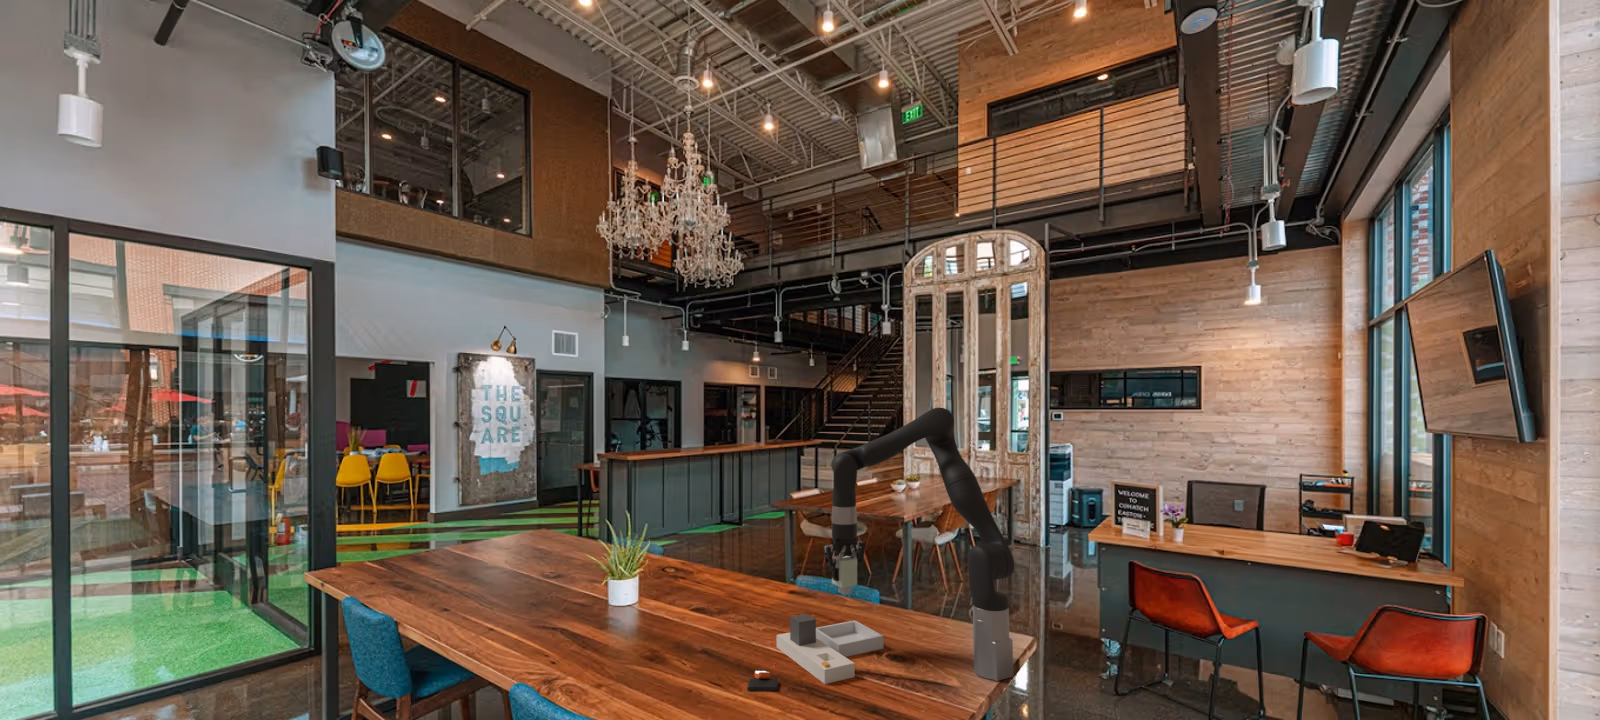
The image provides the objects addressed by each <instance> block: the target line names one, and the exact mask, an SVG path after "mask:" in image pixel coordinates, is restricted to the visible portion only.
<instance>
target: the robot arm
mask: <svg viewBox="0 0 1600 720" xmlns="http://www.w3.org/2000/svg"><path fill="white" fill-rule="evenodd" d="M954 426H955V417H954V415H953V413H952V412H951V411H950V410H949V409H947V408H945V407H934V408H932V409H930V410H927V411H926V412H924V413H923V414H922V415H920V416H918V417H917V418H915V419H914V420H912V421H910V422H907V424H905V425H903V426H900V427H899V428H898V429H895V430H893V431H892V432H888V434H886V435H885V434H884V435H882V436H880V437H878V438H876V439H873V440H871V441H868V442H866V443H863V445H860V446H857V447H853V448H851V449H848V450H845V451H843V452H840V453H837V454H836V455H835V456H834V457H833V458H832V460H831V464H830V466H831V470H832V472H833V489H832V509H831V537H832V541H831V544H828V545H823V546H822V550H823V555H824V561H825V565H826V566H828V567H831V579H832V578H833V580H835V581H839V568H838V567H839V560H842V558H843V557H845V556H848V557H851V558H853V559H854V558H856V559H857V566H858V565H859V564H861V563H863V562H864V556H865V549H866V542H864V541H862V540H858V539H857V536H858V513H857V512H858V511H857V495H856V489H857V488H856V486H857V480H858V479H857V478H858V471H859V470H861V469H862V470H863V469H864V468H869V467H870V468H871V467H874V466H876V465H879V464H882V463H883V462H885V461H888V460H890V459H892V458H894V457H896V456H897V455H898V454H899V453H900V454H901V453H902V452H903V451H904V450H906V449H907V448H908V447H909V446H911V445H913V444H914V443H916V442H919V441H920V440H922V439H925V441H926V442H927V444H928V446H929V448H930V450H931V451H932V454H933V455H934V458H935V460H936V463H937V466H938V469H939V472H940V475H941V476H940V477H941V479H942V482H943V485H944V487H945V490H946V492H947V495H948V499H949V500H950V503H951V505H952V507H953V508H954V509H955V511H956V512H957V513H958V514H959V515H960V516H961V517H962V518H963V519H964V520H966V522H967V523H968V524H970V526H971V527H973V529H974V530H975V532H976V533H977V534H978V537H979V538H980V540H981V543H982V544H977V545H974V546H972V547H971V548H970V550H969V552H968V555H967V572H968V584H969V585H968V587H969V588H968V589H969V592H970V596H971V599H972V637H973V639H972V640H973V671H974V673H975V674H976V675H977V676H979V677H981V678H984V679H987V680H988V679H989V680H994V681H996V682H998V681H1003V680H1005V679H1009V678H1012V677H1014V651H1013V649H1014V647H1013V645H1014V644H1013V639H1012V638H1011V637H1010V611H1009V605H1010V604H1009V597H1008V596H1007V595H1006V594H1005V593H1003V592H1001V591H998V590H996V588H995V583H994V581H995V580H1002V579H1003V580H1004V579H1007V578H1010V577H1011V576H1012V575H1013V574H1014V572H1015V560H1014V556H1013V553H1012V551H1011V549H1010V547H1009V545H1008V543H1007V542H1006V540H1005V538H1004V535H1003V534H1002V532H1001V530H1000V528H999V527H998V525H997V522H996V521H995V519H994V516H993V514H992V511H991V510H990V507H989V506H988V504H987V501H986V498H985V496H984V493H983V491H982V488H981V486H980V484H979V482H978V480H977V477H976V474H975V473H974V472H973V470H972V469H971V467H970V466H969V465H968V463H967V462H966V461H965V460H964V458H963V457H962V455H961V454H960V451H959V447H958V446H957V445H958V444H957V443H956V440H955V435H954V429H955V427H954ZM855 550H856V551H855ZM832 553H833V554H832ZM835 559H836V563H835Z"/></svg>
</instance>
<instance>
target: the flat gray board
mask: <svg viewBox="0 0 1600 720" xmlns="http://www.w3.org/2000/svg"><path fill="white" fill-rule="evenodd" d="M776 649H778V650H779V651H781V652H782V653H783V654H785V655H786V656H787V657H789V658H790V659H791V660H793V662H795V663H797V664H798V665H799V666H800V667H802V668H803V669H804V670H806V671H807V672H808V673H810V674H811V675H813V677H814V678H816V679H817V680H819V681H820V682H821V683H822V684H824V685H827V684H831V683H835V682H839V681H843V680H847V679H852V678H855V676H856V675H855V674H856V673H855V662H854V661H852V660H850V659H849V658H848V657H844V656H843V655H841V654H840V653H838V652H837V651H835V650H834V649H832V648H831V647H829V646H828V645H826V644H824V643H823V642H821V641H820V640H818V639H817V638H816V643H811V644H806V645H801V646H798V645H797V644H796V643H794V642H793V641H791V640H790V632H785V633H780V634H779V633H778V634H776Z"/></svg>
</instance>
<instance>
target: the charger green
mask: <svg viewBox="0 0 1600 720" xmlns="http://www.w3.org/2000/svg"><path fill="white" fill-rule="evenodd" d="M835 563H836V559H835ZM838 568H839V581H835V580H833V578H832V577H831V584H833V585H834V586H837V587H838V588H837V589H838V593H839V594H842V595H844V596H845V595H846V596H847V595H851V594H852V587H853V586H854V587H855V586H857V585H858V565H857V559H856V558H854V559H853V558H851V557H848V556H845V557H843V558H842V560H839V567H838Z"/></svg>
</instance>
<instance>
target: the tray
mask: <svg viewBox="0 0 1600 720" xmlns="http://www.w3.org/2000/svg"><path fill="white" fill-rule="evenodd" d="M816 638H817V639H818V640H820V641H821V642H823V643H824V644H826V645H828V646H829V647H831V648H832V649H834V650H835V651H837V652H838V653H840V654H841V655H843V656H844V657H846V658H848V657H851V656H855V655H860V654H865V653H869V652H874V651H878V650H882V649H883V650H884V635H883V634H881V633H879V632H877V631H876V630H873V629H872V628H870V627H868V626H866V625H864V624H862V623H860V622H859V621H857V620H854V619H853V620H850V621H844V622H840V623H839V622H838V623H834V624H829V625H823V626H818V627H816Z"/></svg>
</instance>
